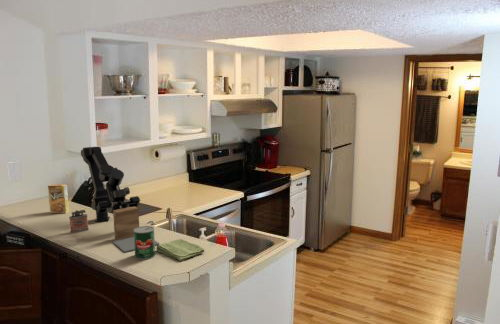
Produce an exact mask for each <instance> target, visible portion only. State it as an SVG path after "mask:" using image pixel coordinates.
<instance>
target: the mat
mask: <svg viewBox="0 0 500 324" xmlns="http://www.w3.org/2000/svg"><path fill="white" fill-rule="evenodd" d="M112 243H113V245H115V246H116V247H117V248H118V249H119V250H120V251H121V252H123V253H125V254H126V253H130V252H135V245H134V237H130V238H125V239H120V240H116V239H115V240H112ZM158 245H160V243H159V242H158V241H157V240H155V247H157V246H158Z"/></svg>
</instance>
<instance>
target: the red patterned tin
mask: <svg viewBox="0 0 500 324" xmlns="http://www.w3.org/2000/svg"><path fill="white" fill-rule="evenodd" d="M68 219H69V225H70V227H69V228H70V234H77V233H83V232H87V231H89V226H88V225H89V223H88V214H87V213H86V209H81V210H78V209H77V210H74V211H71V216H69V217H68Z"/></svg>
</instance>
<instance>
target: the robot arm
mask: <svg viewBox="0 0 500 324" xmlns="http://www.w3.org/2000/svg"><path fill="white" fill-rule="evenodd" d="M80 156H81V157H82V160H83V162H85V164H87V166H88V169H89V173H90V177H91V181H92V186H93V188H94V193H93V196H92V201H91V205H90V206H91V209H92V210H94V211H95V216H96V218H95V220H94V222H95V223H97V222H99V223H101V222H109V220H110V218H111V217H110V216H109V211H108V209H111V210H110V213H111V214H113V210H118V209H123V208H129V207H137V208H138V207H139V204H140V202H141V199H140V196H137V195H136V196H130V197H129V200H128V199H127V200H126V197H127V196H128V195H130V193H131V191H130V188H129V187H128V186H125V187H124V188H120V185H121V184H122V181H123V179H124V177H125V172H123V171H122V170H120V169H118V167H114V166H112V165H110V164H109V162H108V161H107V159H106V157H105V156H104V154H103V152H102V147H100V146H87V147H83V148H82V149H81V150H80ZM105 182H106V183H105ZM104 183H105V186H104Z"/></svg>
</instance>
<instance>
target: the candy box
mask: <svg viewBox="0 0 500 324" xmlns="http://www.w3.org/2000/svg"><path fill="white" fill-rule="evenodd" d="M47 189H48V201H49V212H50V214H67V213H69V212H70V205H69V193H68V184H67V183H64V184H61V183H59V184H58V183H55V184H53V183H52V184H48V185H47Z"/></svg>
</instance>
